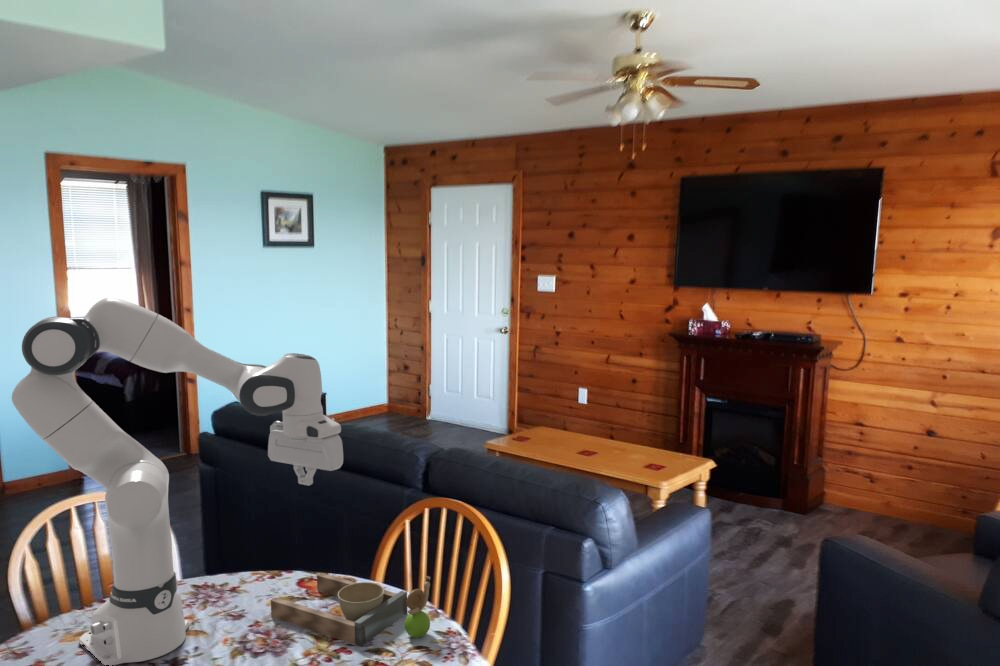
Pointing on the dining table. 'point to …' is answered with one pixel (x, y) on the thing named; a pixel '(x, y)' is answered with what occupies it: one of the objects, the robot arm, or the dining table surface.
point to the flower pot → (360, 599)
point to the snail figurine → (417, 612)
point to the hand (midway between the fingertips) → (305, 484)
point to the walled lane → (337, 626)
